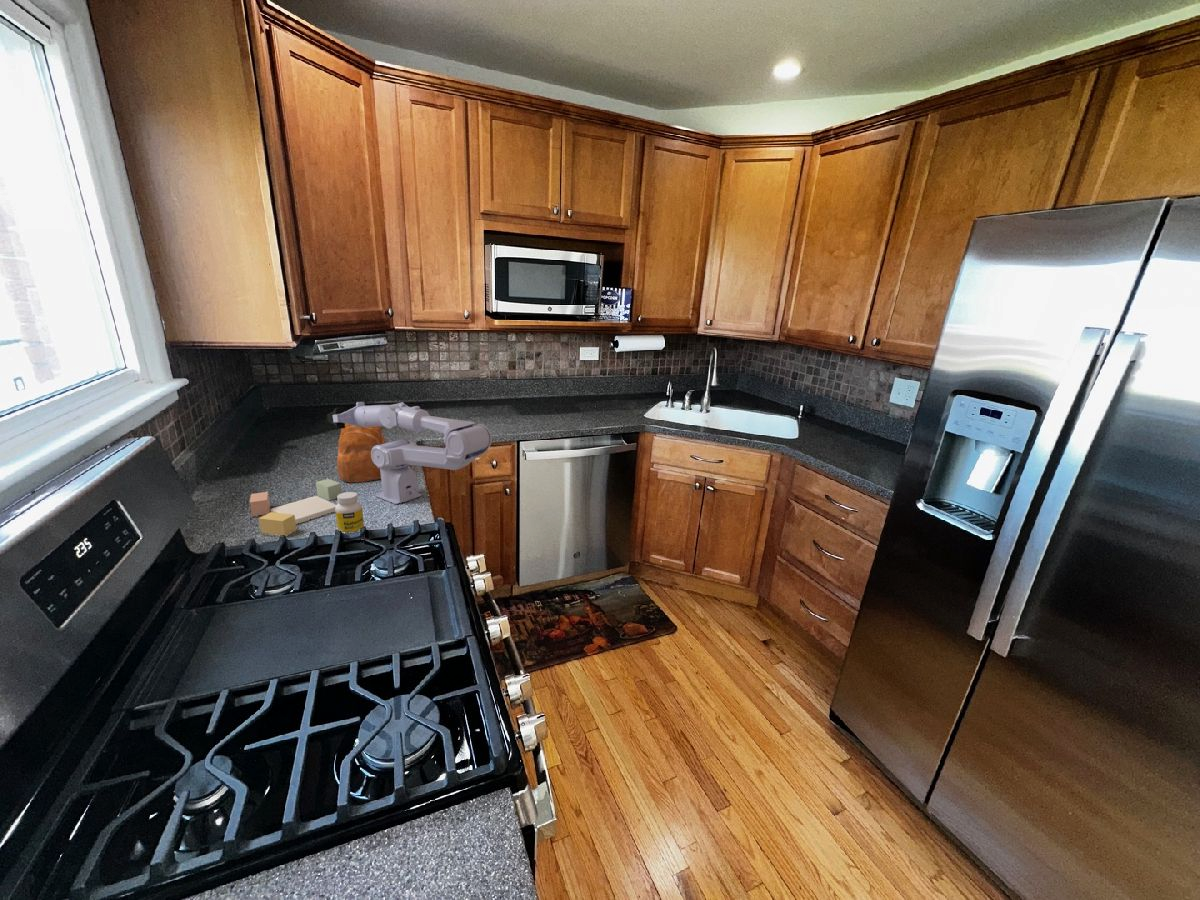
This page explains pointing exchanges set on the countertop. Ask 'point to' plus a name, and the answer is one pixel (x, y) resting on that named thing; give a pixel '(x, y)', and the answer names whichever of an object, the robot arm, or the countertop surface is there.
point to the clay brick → (260, 503)
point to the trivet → (306, 508)
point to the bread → (358, 453)
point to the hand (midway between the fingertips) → (341, 417)
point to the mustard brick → (277, 523)
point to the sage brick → (328, 489)
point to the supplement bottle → (349, 513)
